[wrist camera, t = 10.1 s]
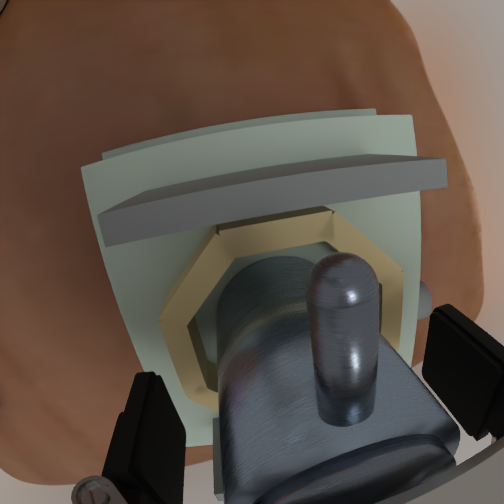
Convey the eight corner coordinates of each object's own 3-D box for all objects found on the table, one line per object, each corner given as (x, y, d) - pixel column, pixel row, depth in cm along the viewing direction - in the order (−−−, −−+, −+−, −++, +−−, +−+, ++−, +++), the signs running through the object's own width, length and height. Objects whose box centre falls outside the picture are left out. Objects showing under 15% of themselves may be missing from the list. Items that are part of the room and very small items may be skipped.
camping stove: (108, 153, 16) (-16, 159, 6) (388, 110, 17) (524, 91, 6) (180, 394, 22) (168, 520, 11) (395, 346, 22) (470, 440, 12)
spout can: (186, 204, 12) (95, 357, 3) (325, 177, 12) (543, 240, 3) (231, 376, 14) (254, 568, 5) (342, 349, 14) (437, 510, 5)
